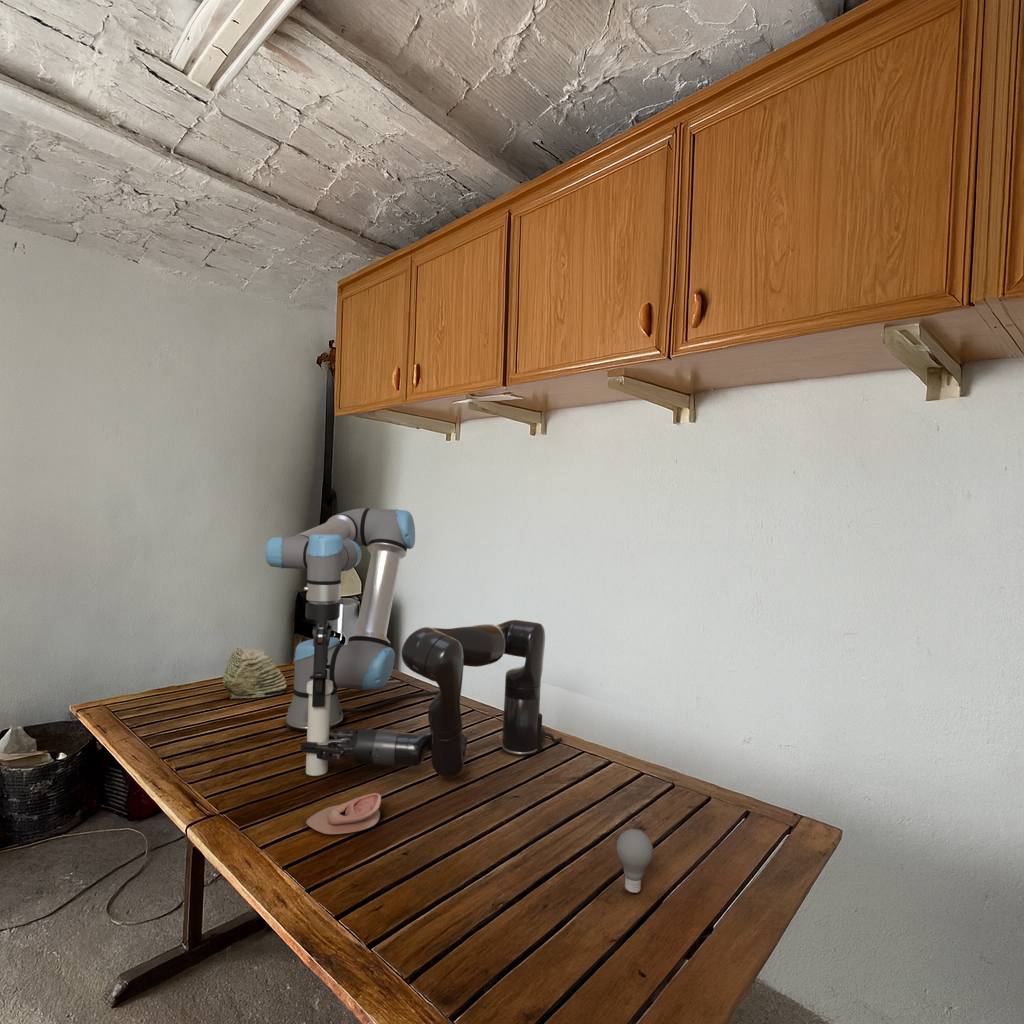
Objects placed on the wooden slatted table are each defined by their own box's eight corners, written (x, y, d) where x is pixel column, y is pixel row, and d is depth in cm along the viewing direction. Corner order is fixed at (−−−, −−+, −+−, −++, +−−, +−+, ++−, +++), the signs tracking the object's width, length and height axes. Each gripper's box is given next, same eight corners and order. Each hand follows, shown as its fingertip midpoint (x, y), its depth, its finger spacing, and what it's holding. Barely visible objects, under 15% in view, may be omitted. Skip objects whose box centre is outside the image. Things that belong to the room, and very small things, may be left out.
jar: (303, 775, 143) (306, 689, 143) (308, 766, 148) (311, 683, 148) (325, 775, 144) (328, 689, 143) (329, 766, 149) (332, 683, 148)
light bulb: (610, 879, 108) (613, 822, 108) (644, 879, 109) (647, 822, 109) (619, 902, 102) (622, 840, 102) (655, 901, 103) (658, 840, 103)
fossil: (218, 695, 195) (220, 647, 195) (278, 685, 208) (279, 640, 207) (228, 703, 189) (230, 653, 188) (289, 692, 201) (290, 645, 201)
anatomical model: (298, 809, 120) (327, 783, 131) (297, 830, 120) (327, 802, 131) (363, 819, 117) (388, 791, 128) (362, 840, 117) (387, 811, 128)
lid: (303, 689, 146) (304, 680, 146) (328, 686, 150) (329, 677, 150) (310, 696, 142) (310, 687, 142) (336, 693, 145) (336, 684, 145)
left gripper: (309, 595, 153) (305, 690, 154) (302, 608, 135) (298, 716, 136) (341, 595, 155) (337, 689, 156) (338, 608, 137) (334, 715, 137)
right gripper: (387, 720, 152) (318, 715, 153) (370, 742, 138) (294, 737, 139) (386, 751, 152) (317, 746, 153) (368, 777, 138) (292, 771, 139)
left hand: (319, 701), depth 146 cm, fingers closed on lid, 6 cm apart
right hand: (306, 742), depth 146 cm, fingers closed on jar, 5 cm apart
